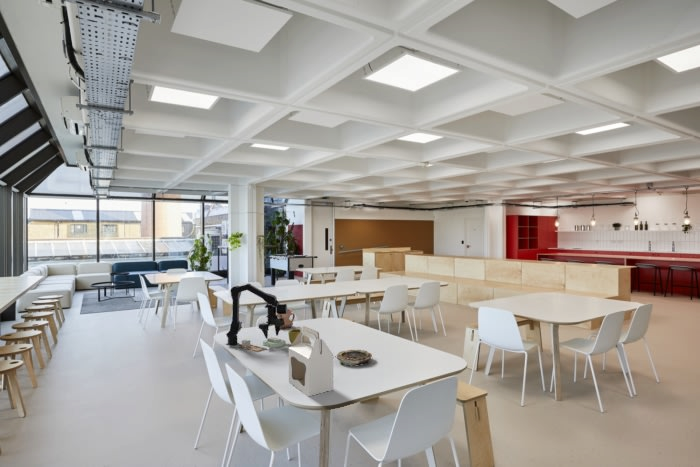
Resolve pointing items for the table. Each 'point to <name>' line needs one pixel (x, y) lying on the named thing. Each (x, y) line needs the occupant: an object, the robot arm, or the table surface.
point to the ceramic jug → (287, 318)
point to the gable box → (310, 363)
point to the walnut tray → (254, 348)
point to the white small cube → (271, 339)
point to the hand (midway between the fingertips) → (271, 337)
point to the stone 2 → (276, 340)
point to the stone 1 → (245, 343)
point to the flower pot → (293, 334)
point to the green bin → (274, 343)
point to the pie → (354, 357)
